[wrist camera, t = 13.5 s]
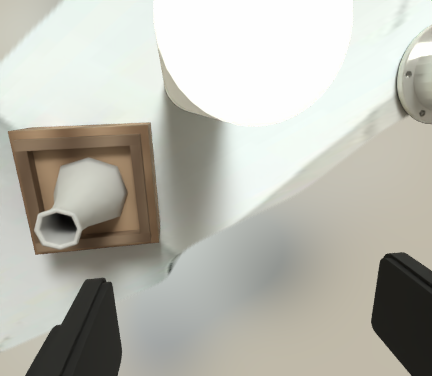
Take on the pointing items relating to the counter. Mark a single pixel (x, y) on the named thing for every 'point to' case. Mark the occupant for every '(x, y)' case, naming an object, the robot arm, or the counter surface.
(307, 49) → the cylindrical container
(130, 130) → the tray
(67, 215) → the flask
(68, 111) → the counter surface
